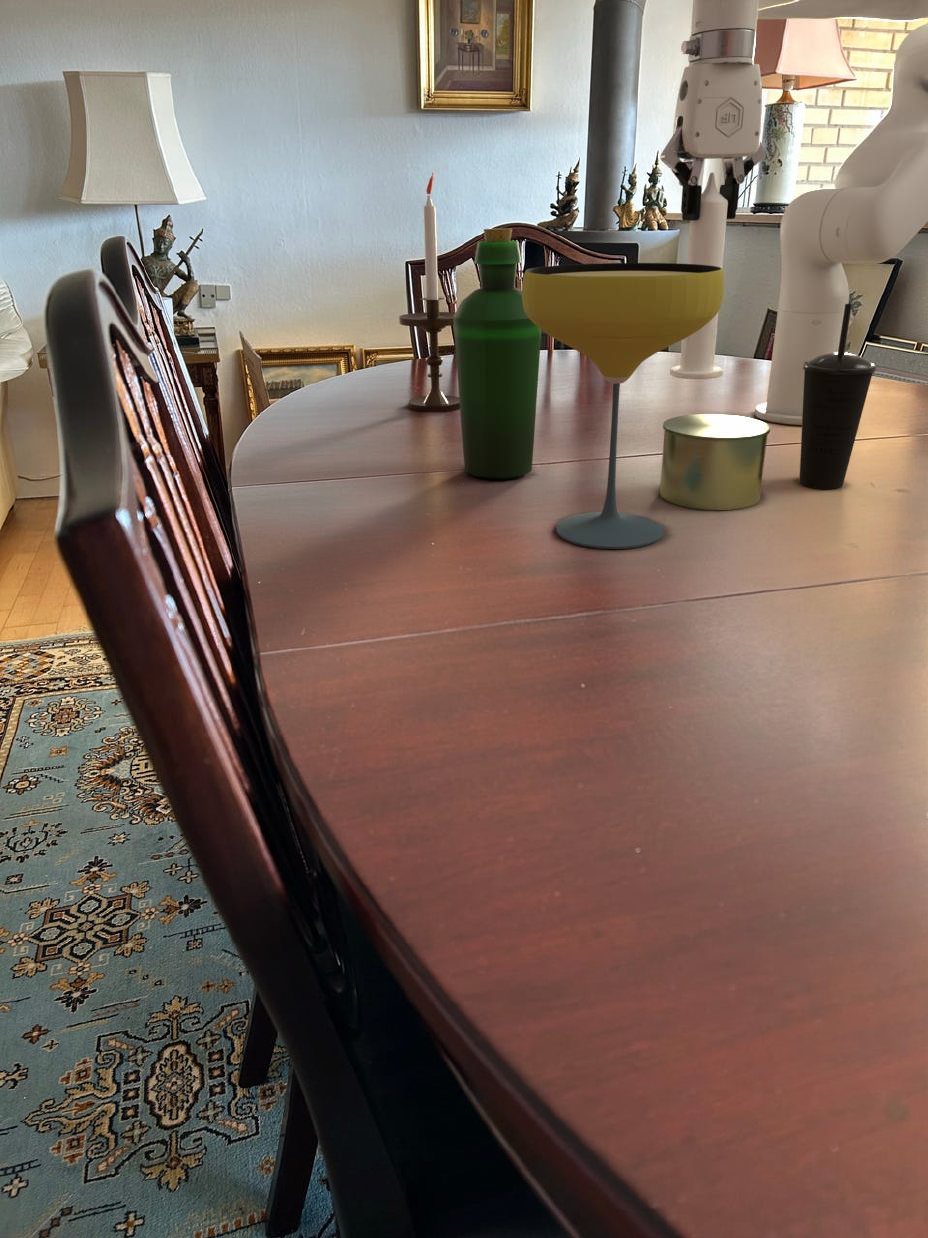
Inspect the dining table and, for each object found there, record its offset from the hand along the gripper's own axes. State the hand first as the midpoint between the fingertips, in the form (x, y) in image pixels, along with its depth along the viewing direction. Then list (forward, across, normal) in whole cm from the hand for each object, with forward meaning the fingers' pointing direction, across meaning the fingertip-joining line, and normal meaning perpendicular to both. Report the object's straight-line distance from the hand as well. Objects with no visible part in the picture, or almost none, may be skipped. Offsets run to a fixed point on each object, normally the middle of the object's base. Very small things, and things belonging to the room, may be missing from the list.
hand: (708, 217), depth 115 cm
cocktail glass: (+28, -29, -32) cm, 52 cm away
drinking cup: (+29, +2, -26) cm, 39 cm away
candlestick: (+28, -28, +35) cm, 53 cm away
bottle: (+28, -32, -7) cm, 43 cm away
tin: (+28, -13, -25) cm, 40 cm away
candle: (+20, 0, 0) cm, 20 cm away
